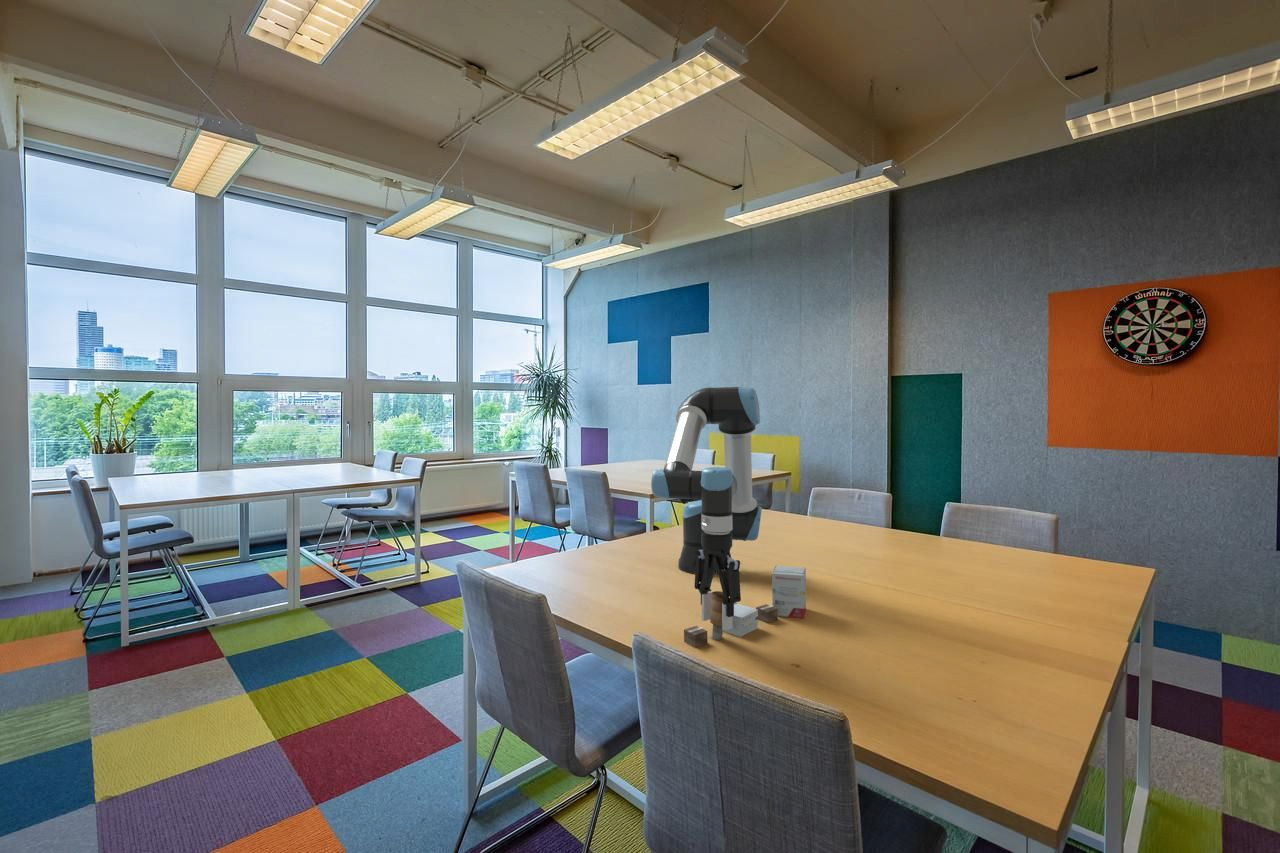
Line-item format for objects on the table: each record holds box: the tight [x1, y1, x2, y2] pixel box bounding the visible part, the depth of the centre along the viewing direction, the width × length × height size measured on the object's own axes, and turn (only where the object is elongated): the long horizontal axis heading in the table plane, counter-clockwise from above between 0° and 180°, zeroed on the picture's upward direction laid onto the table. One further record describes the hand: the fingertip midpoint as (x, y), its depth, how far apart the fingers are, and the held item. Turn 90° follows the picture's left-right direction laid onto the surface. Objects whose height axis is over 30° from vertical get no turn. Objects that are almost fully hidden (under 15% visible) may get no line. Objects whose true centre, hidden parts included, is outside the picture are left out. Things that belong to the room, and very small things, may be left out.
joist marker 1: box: [683, 625, 708, 648], centre depth 140 cm, size 4×4×3 cm
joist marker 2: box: [755, 604, 779, 624], centre depth 154 cm, size 4×4×3 cm
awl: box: [709, 590, 725, 641], centre depth 142 cm, size 4×4×11 cm
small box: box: [722, 602, 759, 638], centre depth 148 cm, size 8×8×5 cm
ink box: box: [771, 564, 807, 619], centre depth 159 cm, size 9×9×12 cm
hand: (716, 623), depth 142 cm, fingers open, 7 cm apart
